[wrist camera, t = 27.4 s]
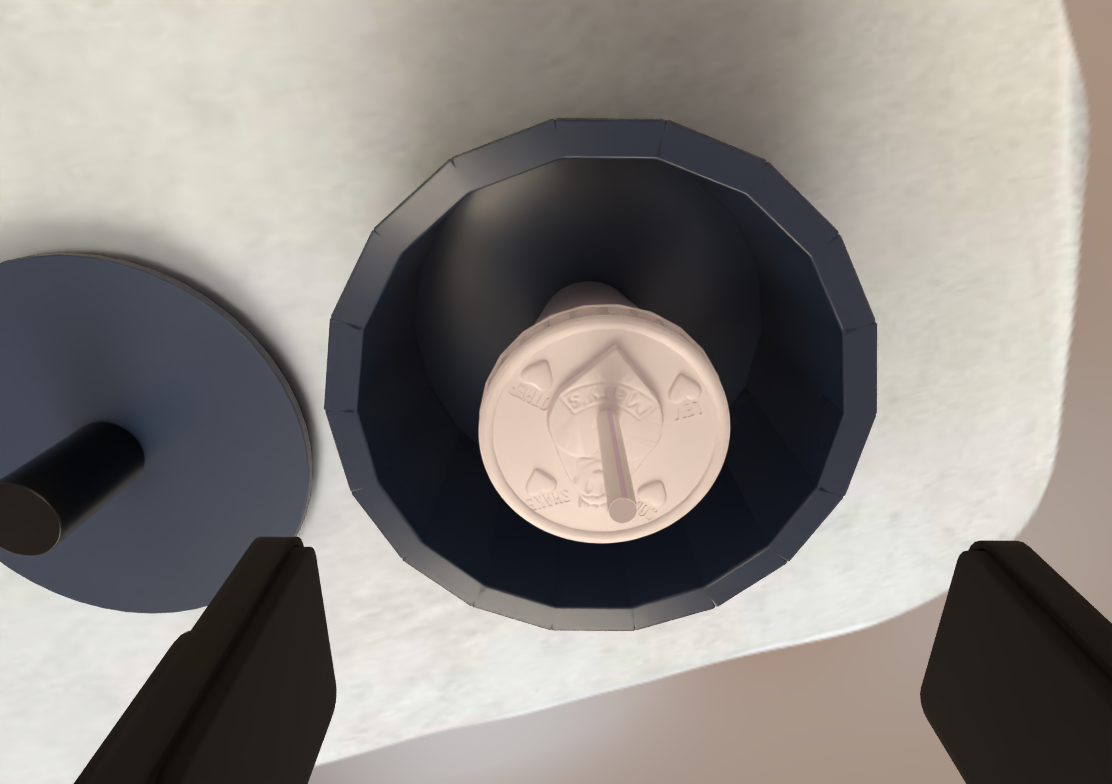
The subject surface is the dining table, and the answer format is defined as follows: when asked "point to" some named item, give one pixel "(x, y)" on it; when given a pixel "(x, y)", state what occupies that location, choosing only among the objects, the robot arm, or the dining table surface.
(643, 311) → the smoothie
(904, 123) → the dining table surface
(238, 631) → the robot arm
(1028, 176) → the dining table surface
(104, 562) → the pot lid
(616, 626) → the pot
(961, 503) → the dining table surface
